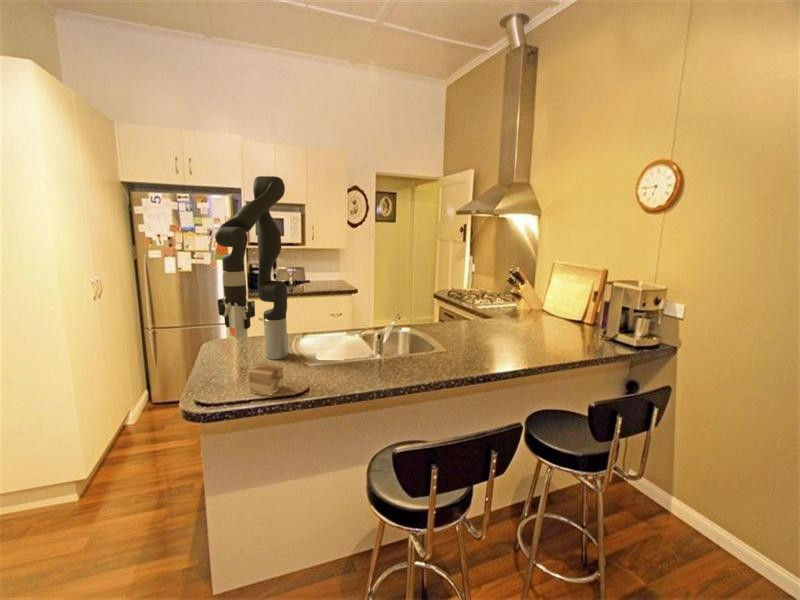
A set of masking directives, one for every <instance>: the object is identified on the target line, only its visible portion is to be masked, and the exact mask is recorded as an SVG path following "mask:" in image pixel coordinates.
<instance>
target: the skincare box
mask: <svg viewBox="0 0 800 600" xmlns="http://www.w3.org/2000/svg"><path fill="white" fill-rule="evenodd" d="M240 308H241V309H242V310H243V311H244V310H245V306H244V307H241V306H239V307H237V306H233V305H232V306H230V310H229V313H228V318H229V327H228V329H229V336H230V337H232V338H233V339H235V340H240V339H245V338H247V337H248V329H244V317H243V316H242V315H241V314H240ZM245 314H246V313H245Z"/></svg>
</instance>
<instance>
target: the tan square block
mask: <svg viewBox="0 0 800 600" xmlns="http://www.w3.org/2000/svg"><path fill="white" fill-rule="evenodd" d="M283 368H284V367H283V366H281V365H274V364H266V363H262V364H261V365H259V366H257V367H255V368H252V370H250V371H248V377H249V384H250V383H255V384H261V385H267V386H270V385H272V384H273V383H275V382H276V381H278V380H280V379H281V378H283V379H284V369H283Z"/></svg>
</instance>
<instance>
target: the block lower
mask: <svg viewBox="0 0 800 600" xmlns="http://www.w3.org/2000/svg"><path fill="white" fill-rule="evenodd" d="M282 386H283V387H284V377H283V378H281V379H280V380H278V381H276V382H275V383H273V384H272V385H270V386H267V385H261V384H255V383H250V382H249V389H250V390H249V391H250V392H255V393H266V394H272V393H273V392H274V391H276V390H277V389H279V388H280V387H282ZM283 387H282V388H283ZM279 390H280V389H279ZM255 393H254V394H255Z"/></svg>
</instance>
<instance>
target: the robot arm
mask: <svg viewBox="0 0 800 600" xmlns="http://www.w3.org/2000/svg"><path fill="white" fill-rule="evenodd" d="M252 185H253V187H252V188H253V189H252V190H253V191H252V192H253V200H251V201H249V202H248V203H246V204H244V205H243V206H242V207H241V208H240V209H239V210H238V211H237V212H236V213H235V215H234V217H231V218H230V219H228V220H227V221H225V222H224V223H222V224H221V225H220V226H219V227H218V228H217V229H216V231H215V235H214V238H215V242H216V243H217V245H219V246H220V247H224V248H232V249H231V252H230V253H226V254H224V255H223V256H222V259H221V260H222V272H223V273H222V284H223V295H224V298H219V299H217V308H218V315H219V316H222V317H223V318H224V326H225V327H226V328H229V318H228V313H229V310H230V306H232V305H233V306H237V307H239V306H241V307H244V306H245V310H244V311H243V310H242V309H241V308H240V314H241V315H242V316H243V317H244V329H247V330H248V329H250V327H251V326H252V325H251V318H254V317H255V316H256V309H255V307H256V304H255V303H256V302H255V301H254V300H251V301H250V300H247V292H248V291H247V281H246V279H247V278H246V272H245V271H246V270H245V262H244V261H245V255H246V249H247V247H248V241H249V239H248V232H249V231H251V230H252V229H253V227H254V226H255V225H256V226H257V228H256V229H257V238H256V239H257V251H258V276H257V277H258V279H257V294H258V298H259V299H260V301H261V302H264V303H265V302H266V303H273V307H272V308H270V309H267V310H265V311H264V312H263V325H264V327H263V329H264V332H263V333H264V348H265V349H264V350H265V358H266V359H268V360H282V359H285V358H287V357H288V355H289V342H288V341H289V338H288V337H289V336H288V330H287V311H288V287H287V285H286V283H285V281H282V280H272V269H273V266H274V264H275V263H276V260H277V258H278V257H279V256H280V254H281V250H282V233H281V231H280V229H279V226H278V225H277V223H276V222H275V220H274V219H273V217H272V214H271V213H270V208H272V207H273V206H274V205H275V204H277V203H278V202H279V201H280V200H282V198H283V197H284V196H285V195H284V194H285V191H286V190H285V189H286V187H285V182H284V181H283V179H282V177H279V176H271V175H269V176H266V175H265V176H264V175H263V176H256V177H255V178H254V180H253V184H252ZM245 313H246V314H245Z"/></svg>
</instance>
